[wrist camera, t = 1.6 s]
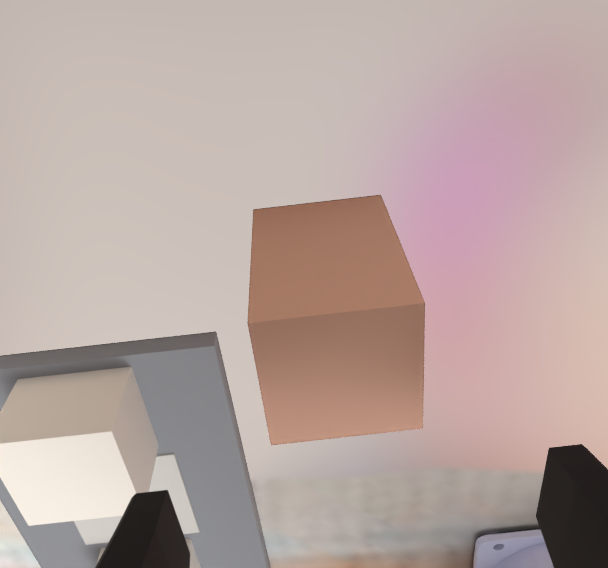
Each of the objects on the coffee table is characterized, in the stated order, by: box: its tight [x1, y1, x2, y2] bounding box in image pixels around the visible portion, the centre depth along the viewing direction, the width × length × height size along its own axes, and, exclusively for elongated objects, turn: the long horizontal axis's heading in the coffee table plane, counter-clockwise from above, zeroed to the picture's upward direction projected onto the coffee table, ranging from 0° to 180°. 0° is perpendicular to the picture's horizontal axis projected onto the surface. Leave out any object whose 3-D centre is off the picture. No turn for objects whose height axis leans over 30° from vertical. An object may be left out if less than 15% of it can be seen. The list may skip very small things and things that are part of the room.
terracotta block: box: [248, 195, 425, 445], centre depth 16 cm, size 4×4×6 cm
